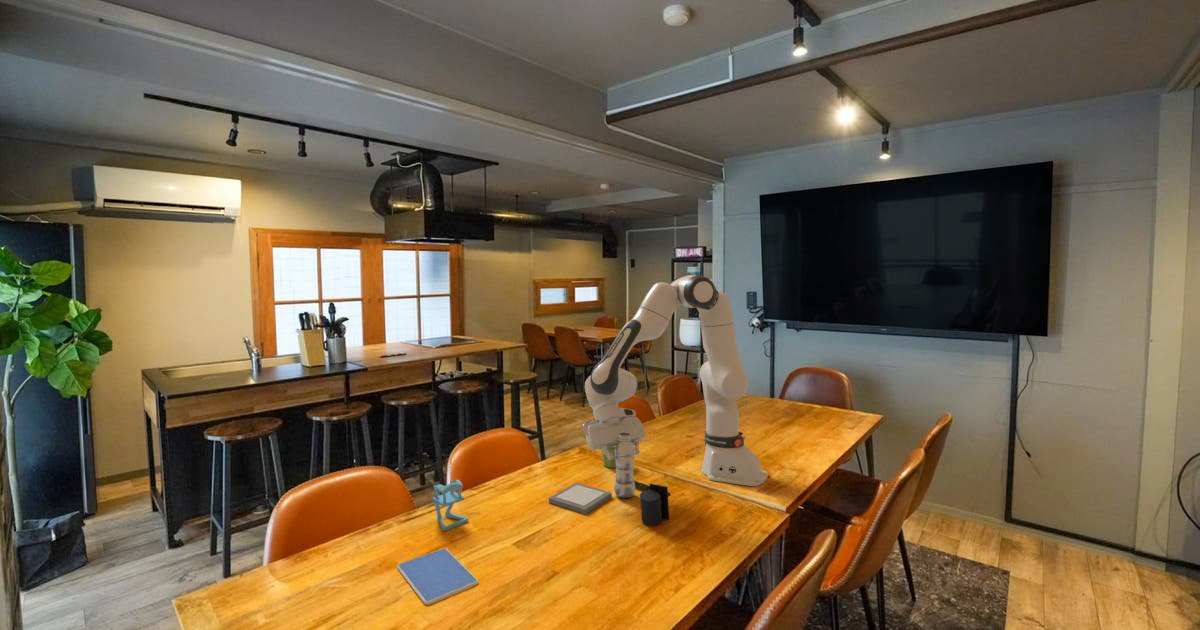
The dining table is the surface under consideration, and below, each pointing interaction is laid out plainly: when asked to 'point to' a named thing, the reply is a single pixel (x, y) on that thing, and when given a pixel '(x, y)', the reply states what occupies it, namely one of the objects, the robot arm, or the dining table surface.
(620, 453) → the plastic bottle
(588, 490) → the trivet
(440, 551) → the tablet computer
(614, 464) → the plant pot
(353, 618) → the dining table surface
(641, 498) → the speaker
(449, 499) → the chair
